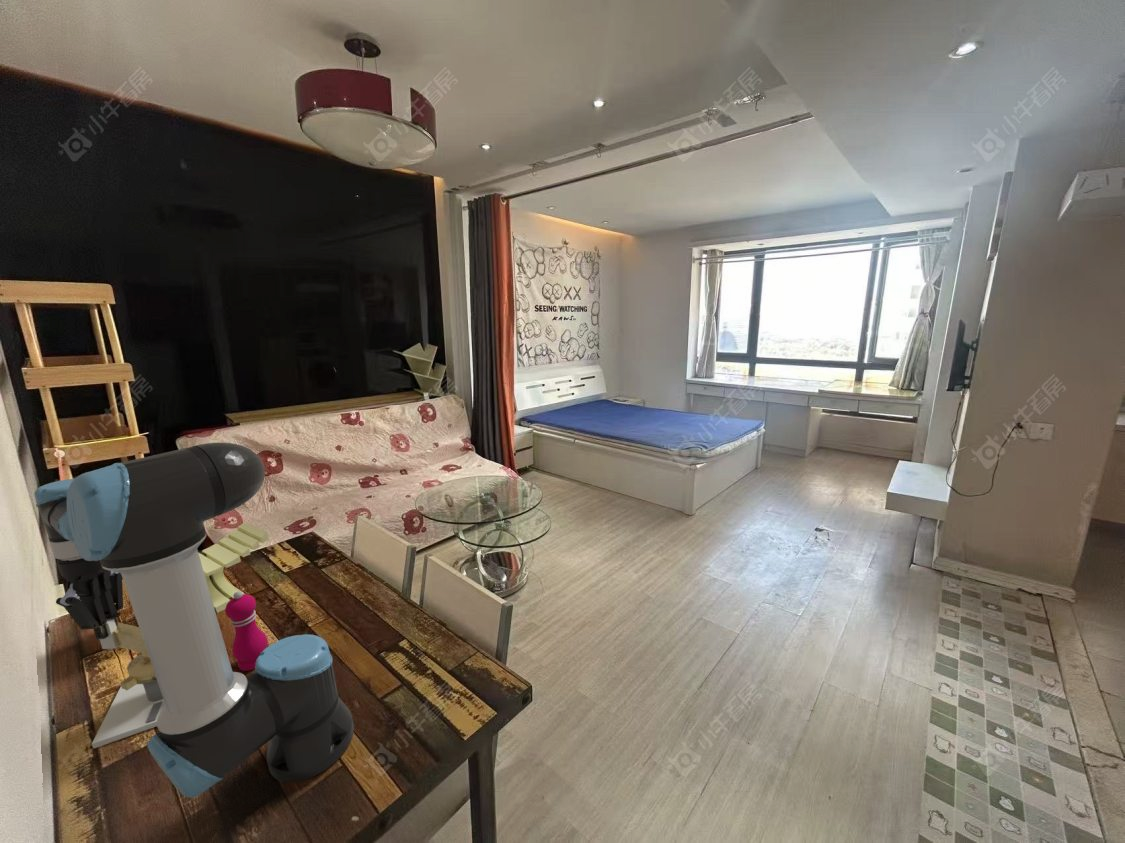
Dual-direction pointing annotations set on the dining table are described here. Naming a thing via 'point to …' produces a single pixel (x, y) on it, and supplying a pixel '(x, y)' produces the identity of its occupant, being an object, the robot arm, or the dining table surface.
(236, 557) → the slatted curved stool
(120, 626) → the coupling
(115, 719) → the base
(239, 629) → the pepper mill
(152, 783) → the dining table surface
